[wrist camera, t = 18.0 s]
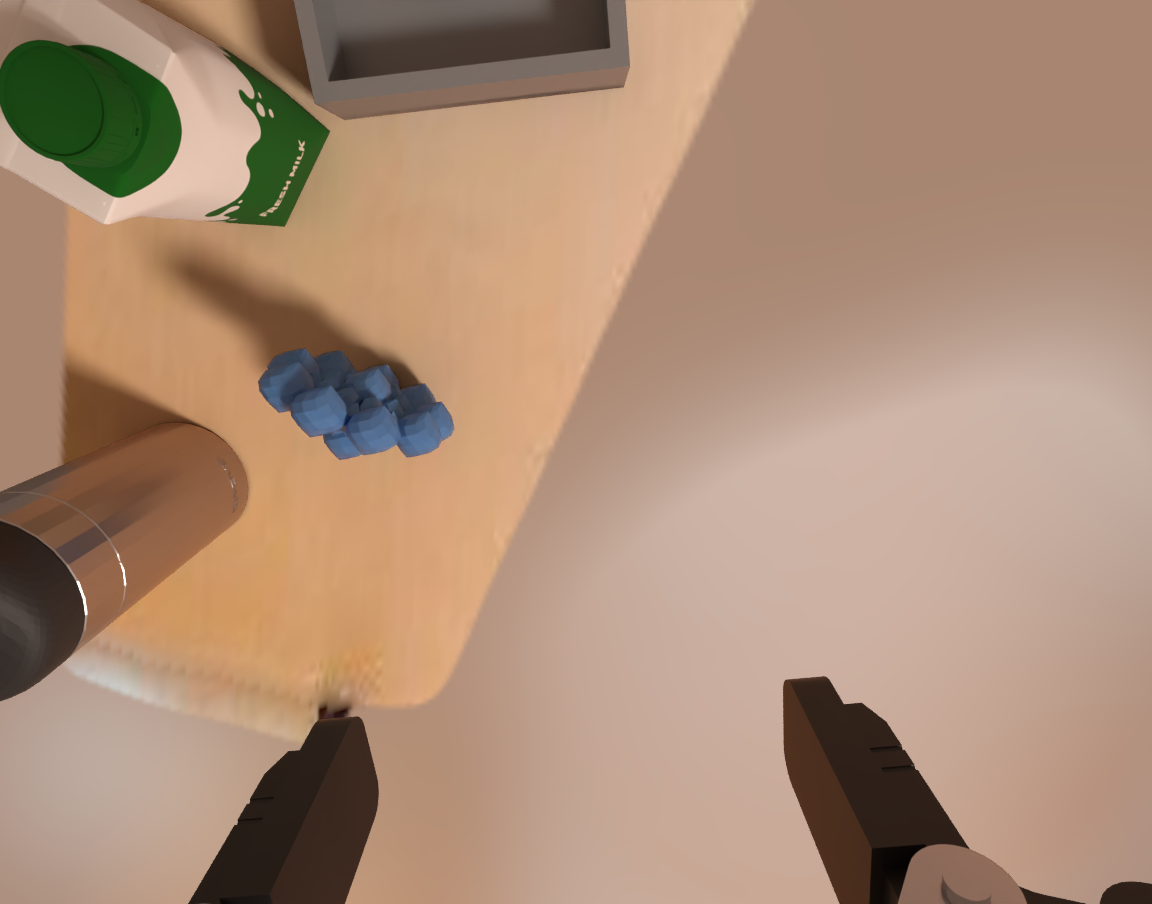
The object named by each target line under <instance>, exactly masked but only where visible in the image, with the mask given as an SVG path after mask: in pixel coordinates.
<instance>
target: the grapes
mask: <svg viewBox="0 0 1152 904" xmlns="http://www.w3.org/2000/svg"><path fill="white" fill-rule="evenodd" d="M267 367H268V370H267V371H265V373H264V374H263V375H262V377H261V378H260V379H259V381H258V384H259V390H260V392H261V394H262V395H263V396H264V398H265V399H266V400H267V402H268V403H269V404H270V405H271V406H272V407H274V408H275V409H276V410H277V411H278V412H279V413H280V412H287V411H291V416H292V418H293V419H294V420H295V422H296V423H297V424H298V426H299V427H300V428H301V429H302V430H303V431H304V432H305V433H306V434H307V435H308V436H309V437H314V436H320V435H323V438H324V442H325V444H326V445H327V447H328V448H329V449H330V451H331V452H332V453H333V454H334V455H335V456H336V457H337V458H338V459H339V460H341V459H349V458H353V457H357V456H360V455H369V454H375V453H379V452H383V451H386V450H388V449H390V448H391V447H393V446H395V445H396V444H397V446H398V447H399V449H400V450H401V451H402V453H403V454H404V455H405V456H406V457H414V456H419V455H423V454H427V453H430V452H431V451H433V450H435V449H436V448H438V447H439V445H440V443H441V441H442V440H445V439H446V438H448V437H449V436H451V435H452V433H453V430H454V424H453V420H452V417H451V415H450V413H449V412H448V410H447V408H446V407H445V406H444V404H443V403H442V402H436V400H435V398H434V396H433V394H432V393H431V391H430V390H429V388H428V387H427V386H426V384H419V385H414V386H409V387H406V388H404V389H402V390H401V388H400V384H399V381H398V379H397V377H396V376H395V374H394V372H393V371H392V370H391V368H390V367H389V366H388V365H387V364H385V365H379V366H374V367H369V368H367V369H365V370H363V371H361V372H357V371H356V370H355V368H354V367H353V365H352V363H351V362H350V360H349V359H348V357H347V356H346V355H345V354H344V353H343V352H342V350H340V351H334V352H329V353H324V354H321V355H319V356H317V357H315V358H313V356H312V355H311V354H310V353H309V352H308V351H307V350H306V349H305V348H304V349H298V350H293V351H288V352H284V353H282V354H280V355H277V356H275V357H274V358H273V359H272V361H271V362H270V364H269V365H268V366H267Z"/></svg>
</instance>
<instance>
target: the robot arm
mask: <svg viewBox="0 0 1152 904" xmlns="http://www.w3.org/2000/svg"><path fill="white" fill-rule="evenodd" d="M247 499H248V482H247V476H246V473H245V470H244V468H243V465H242V463H241V461H240V460H239V458H238V457H237V455H236V454H235V452H234V451H233V450H232V449H231V448H230V447H229V446H228V444H227V443H226V442H224V441H223V440H222V439H220V438H219V437H218V436H216V435H215V434H214V433H212V432H210V431H208V430H206V429H204V428H202V427H198V426H195V425H191V424H188V423H176V422H173V423H165V424H160V425H157V426H154V427H151V428H149V429H146V430H144V431H142V432H139V433H137V434H135V435H132V436H130V437H128V438H125V439H123V440H120V441H118V442H115V443H113V444H111V445H108V446H106V447H104V448H101V449H99V450H97V451H94V452H92V453H90V454H87V455H85V456H83V457H80V458H78V459H76V460H73V461H71V462H69V463H66V464H64V465H62V466H59V467H57V468H55V469H52V470H51V471H48V472H45V473H43V474H41V475H38V476H36V477H34V478H31V479H29V480H27V481H24V482H22V483H20V484H17V485H15V486H13V487H10V488H8V489H6V490H4V491H1V492H0V701H3V700H5V699H8V698H11V697H13V696H15V695H18V694H20V693H22V692H24V691H26V690H28V689H29V688H31V687H32V686H34V685H35V684H37V683H38V682H40V681H41V680H42V679H43V678H45V677H46V676H47V675H48V674H50V673H51V672H52V671H53V670H55V669H56V668H57V667H58V666H60V665H61V664H62V663H63V662H64V661H66V660H67V659H68V658H69V657H70V656H72V655H73V654H74V653H75V652H77V651H78V650H79V649H80V648H81V647H83V646H84V645H85V644H86V643H88V642H89V641H90V640H91V639H93V638H94V637H95V636H96V635H97V634H99V633H100V632H101V631H102V630H104V629H105V628H106V627H107V626H109V624H111V623H112V622H113V621H114V620H116V619H117V618H118V617H119V616H121V615H122V614H123V613H124V612H125V611H127V610H128V609H129V608H130V607H132V606H133V605H134V604H135V603H137V602H138V601H139V600H140V599H141V598H143V597H144V596H145V595H146V594H148V593H149V592H150V591H151V590H153V589H154V588H155V587H156V586H158V585H159V584H160V583H161V582H162V581H164V580H165V579H166V578H167V577H169V576H170V575H171V574H172V573H174V572H175V571H176V570H177V569H179V568H180V567H181V566H182V565H183V564H185V563H186V562H187V561H188V560H190V559H191V558H192V557H193V556H195V555H196V554H197V553H198V552H200V551H201V550H202V549H203V548H205V547H206V546H207V545H208V544H210V543H211V542H212V541H213V540H215V539H216V538H217V537H218V536H219V535H221V534H222V533H223V532H224V531H226V530H227V529H228V528H229V527H230V526H232V525H233V524H234V523H235V522H236V521H237V520H238V519H239V517H240V516H241V514H242V512H243V511H244V509H245V506H246V502H247ZM783 709H784V710H783V713H784V714H783V718H784V719H783V720H784V754H785V761H786V766H787V770H788V774H789V778H790V781H791V784H792V786H793V789H794V791H795V794H796V796H797V799H798V801H799V804H800V806H801V809H802V811H803V814H804V816H805V819H806V821H807V824H808V826H809V829H810V831H811V834H812V836H813V838H814V841H815V844H816V846H817V848H818V851H819V854H820V856H821V859H822V861H823V864H824V866H825V868H826V871H827V874H828V876H829V878H830V881H831V883H832V886H833V888H834V891H835V893H836V896H837V898H838V901H839V903H840V904H1085V903H1080V902H1075V901H1071V900H1066V899H1061V898H1056V897H1052V896H1047V895H1042V894H1039V893H1035V892H1032V891H1030V890H1027V889H1024V888H1021V887H1019V886H1018V885H1017V883H1016V882H1015V881H1014V880H1013V879H1012V877H1011V876H1010V875H1009V874H1008V873H1007V872H1006V871H1005V870H1003V869H1002V868H1001V867H1000V866H999V865H997V864H996V863H995V862H993V861H992V860H990V859H988V858H987V857H985V856H983V855H981V854H979V853H977V852H975V851H973V850H970V849H969V847H968V846H967V845H966V843H965V842H964V840H963V838H962V837H961V836H960V834H959V832H958V831H957V829H956V828H955V826H954V825H953V823H952V822H951V820H950V819H949V817H948V815H947V814H946V812H945V811H944V809H943V808H942V806H941V805H940V803H939V802H938V800H937V799H936V797H935V796H934V794H933V793H932V791H931V789H930V788H929V786H928V785H927V783H926V782H925V780H924V779H923V778H922V776H921V774H920V773H919V771H918V770H916V769H915V766H914V763H913V762H912V760H911V759H910V757H909V756H908V754H907V753H906V751H905V750H903V749H902V745H901V744H900V742H899V740H898V739H897V737H896V736H895V735H894V733H893V732H892V730H891V728H890V727H889V725H888V724H887V722H886V721H885V720H883V719H882V718H881V717H879V716H878V715H877V714H875V713H874V712H873V711H872V710H870V709H869V708H868V707H866V706H865V705H864V704H863V703H854V704H843V702H842V700H841V699H840V697H839V695H838V694H837V692H836V690H835V688H834V687H833V685H832V683H831V682H830V680H829V679H828V678H827V677H824V676H823V677H812V678H800V679H790V680H785V682H784V686H783ZM378 795H379V790H378V780H377V775H376V771H375V767H374V763H373V759H372V755H371V752H370V747H369V743H368V739H367V735H366V731H365V727H364V723H363V721H362V719H361V718H360V717H345V718H334V719H322V720H318V721H317V722H316V723H315V724H314V726H313V727H312V729H311V731H310V733H309V735H308V736H307V738H306V740H305V742H304V744H303V746H302V747H301V749H300V750H298V751H288V752H287V753H286V754H285V755H284V756H283V757H282V758H281V759H280V760H279V761H278V762H277V763H276V764H275V765H274V766H272V767H271V768H270V769H269V770H268V771H267V772H266V773H265V774H264V776H263V778H262V779H261V781H260V783H259V785H258V786H257V788H256V790H255V791H254V793H253V795H252V796H251V798H250V803H249V804H247V805H246V807H245V808H244V810H243V812H242V813H241V815H240V817H239V819H238V824H237V825H234V827H233V829H232V831H231V832H230V834H229V835H228V837H227V839H226V841H225V843H224V844H223V846H222V848H221V849H220V851H219V852H218V854H217V856H216V858H215V859H214V861H213V863H212V864H211V866H210V868H209V870H208V871H207V873H206V874H205V876H204V878H203V880H202V882H201V883H200V885H199V886H198V888H197V890H196V891H195V893H194V895H193V897H192V898H191V900H190V902H189V903H188V904H345V902H346V899H347V896H348V893H349V890H350V887H351V885H352V882H353V879H354V876H355V873H356V870H357V867H358V865H359V862H360V859H361V856H362V853H363V850H364V847H365V844H366V842H367V839H368V836H369V833H370V830H371V827H372V825H373V822H374V819H375V815H376V811H377V806H378ZM1100 904H1152V884H1148V883H1142V882H1121V883H1118V884H1114V885H1112V886H1111V887H1109V888H1107V889H1106V891H1105V892H1104V893H1103V895H1102V898H1101V901H1100Z"/></svg>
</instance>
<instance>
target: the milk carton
mask: <svg viewBox="0 0 1152 904" xmlns="http://www.w3.org/2000/svg"><path fill="white" fill-rule="evenodd" d="M329 133H330V131H329V130H328V129H327V128H326V127H324V126H323V125H322V124H321V123H320V122H319V121H318V120H316V119H315V118H314V117H313V116H312V115H311V114H310V113H308V112H307V111H306V110H305V109H304V108H303V107H302V106H300V105H299V104H298V103H297V102H296V101H295V100H294V99H292V98H291V97H290V96H289V95H288V94H286V93H285V92H284V91H283V90H281V89H280V88H279V87H278V86H277V85H275V84H274V83H272V82H271V81H270V80H268V79H267V78H266V77H264V76H263V75H262V74H260V73H259V72H258V71H256V70H255V69H253V68H252V67H250V66H249V65H248V64H246V63H245V62H243V61H242V60H240V59H239V58H238V57H236V56H235V55H233V54H232V53H230V52H229V51H227V50H226V49H224V48H222V47H221V46H219V45H217V44H216V43H214V42H212V41H210V40H209V39H207V38H205V37H203V36H201V35H200V34H198V33H196V32H194V31H193V30H191V29H189V28H187V27H186V26H184V25H182V24H180V23H178V22H177V21H175V20H173V19H171V18H170V17H168V16H166V15H164V14H162V13H161V12H159V11H157V10H155V9H154V8H152V7H150V6H148V5H146V4H144V3H142V2H140V1H138V0H0V166H1V167H3V168H5V169H7V170H9V171H11V172H13V173H15V174H16V175H18V176H20V177H22V178H24V179H25V180H27V181H28V182H30V183H32V184H34V185H36V186H37V187H39V188H41V189H42V190H44V191H46V192H47V193H49V194H51V195H53V196H55V197H56V198H58V199H59V200H61V201H63V202H65V203H66V204H68V205H70V206H72V207H73V208H75V209H77V210H79V211H80V212H82V213H84V214H85V215H87V216H89V217H91V218H92V219H94V220H96V221H98V222H99V223H101V224H106V225H109V224H112V223H116V222H119V221H123V220H126V219H130V218H133V217H137V216H138V217H153V218H168V219H183V220H198V221H213V222H227V223H239V224H256V225H271V226H283V227H285V225H286V223H287V221H288V219H289V217H290V214H291V212H292V210H293V208H294V206H295V204H296V202H297V200H298V198H299V195H300V193H301V191H302V189H303V187H304V185H305V183H306V181H307V179H308V177H309V174H310V172H311V170H312V168H313V166H314V164H315V162H316V160H317V158H318V156H319V153H320V151H321V149H322V147H323V145H324V143H325V141H326V139H327V137H328V135H329Z"/></svg>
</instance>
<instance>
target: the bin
mask: <svg viewBox="0 0 1152 904" xmlns="http://www.w3.org/2000/svg"><path fill="white" fill-rule="evenodd" d="M294 5H295V10H296V15H297V20H298V25H299V29H300V34H301V39H302V44H303V49H304V54H305V59H306V64H307V69H308V74H309V79H310V83H311V88H312V93H313V98H314V103H315V104H316V105H318V106H320V107H322V108H324V109H325V110H327V111H329V112H331V113H333V114H335V115H336V116H338V117H340V118H342V119H344V120H348V119H357V118H365V117H374V116H382V115H391V114H399V113H408V112H416V111H425V110H433V109H442V108H450V107H459V106H467V105H476V104H484V103H493V102H501V101H510V100H518V99H527V98H535V97H544V96H552V95H561V94H569V93H578V92H586V91H595V90H603V89H612V88H620V87H624V84H625V81H626V77H627V74H628V71H629V68H630V61H629V46H628V32H627V18H626V4H625V0H294Z"/></svg>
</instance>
